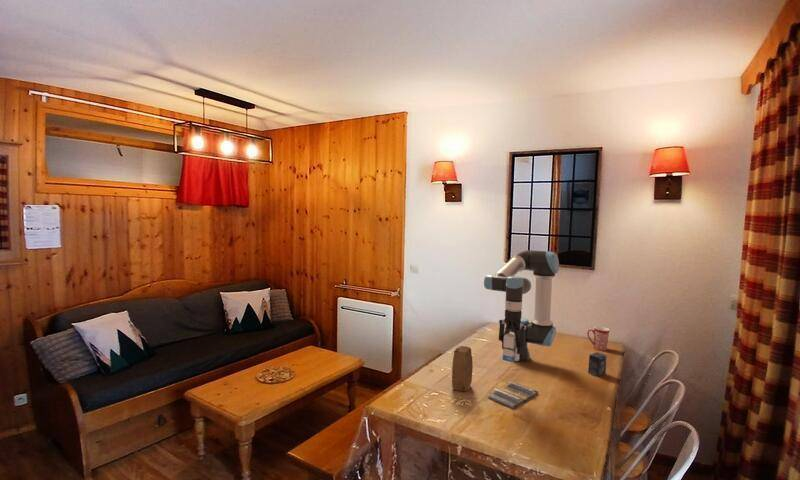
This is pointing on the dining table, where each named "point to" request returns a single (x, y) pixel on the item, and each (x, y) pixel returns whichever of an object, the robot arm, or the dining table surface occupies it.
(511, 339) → the ink box
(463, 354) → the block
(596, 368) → the box
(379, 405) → the dining table surface
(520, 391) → the rail board
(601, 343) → the mug
